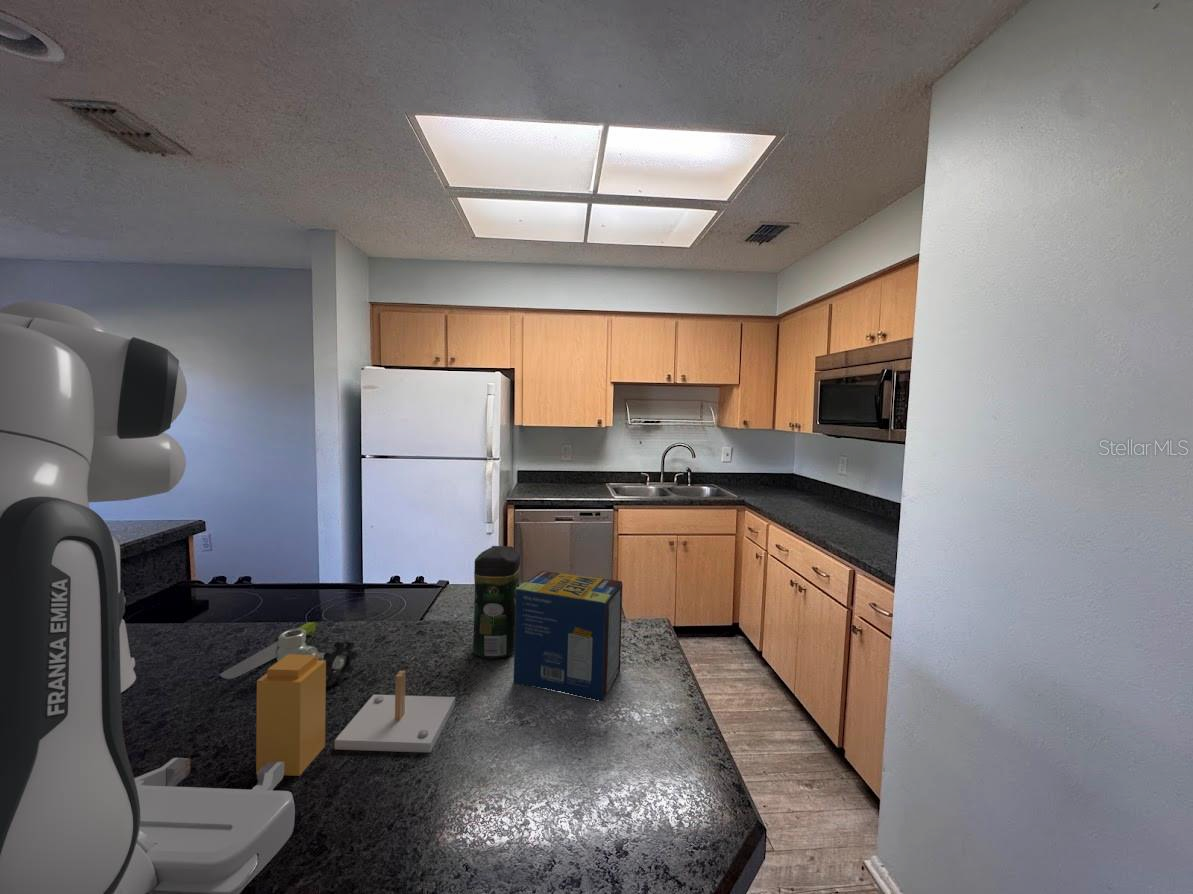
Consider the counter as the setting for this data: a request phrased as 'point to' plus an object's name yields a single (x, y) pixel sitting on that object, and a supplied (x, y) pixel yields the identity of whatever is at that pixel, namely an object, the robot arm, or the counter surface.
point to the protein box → (568, 633)
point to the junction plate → (397, 722)
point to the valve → (296, 645)
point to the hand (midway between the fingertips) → (230, 766)
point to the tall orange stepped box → (291, 713)
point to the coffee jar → (495, 601)
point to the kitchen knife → (261, 656)
